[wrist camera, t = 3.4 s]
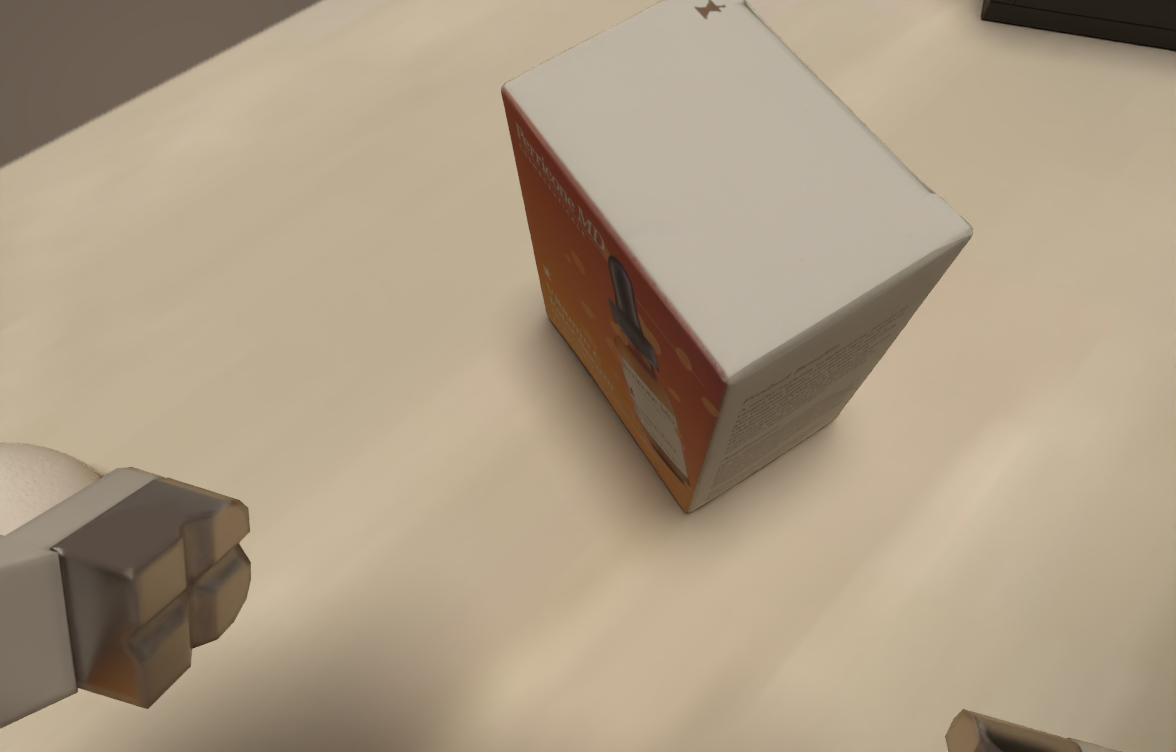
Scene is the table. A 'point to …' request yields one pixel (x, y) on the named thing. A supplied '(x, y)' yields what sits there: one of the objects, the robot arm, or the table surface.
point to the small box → (718, 235)
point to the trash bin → (1093, 18)
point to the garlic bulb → (36, 482)
